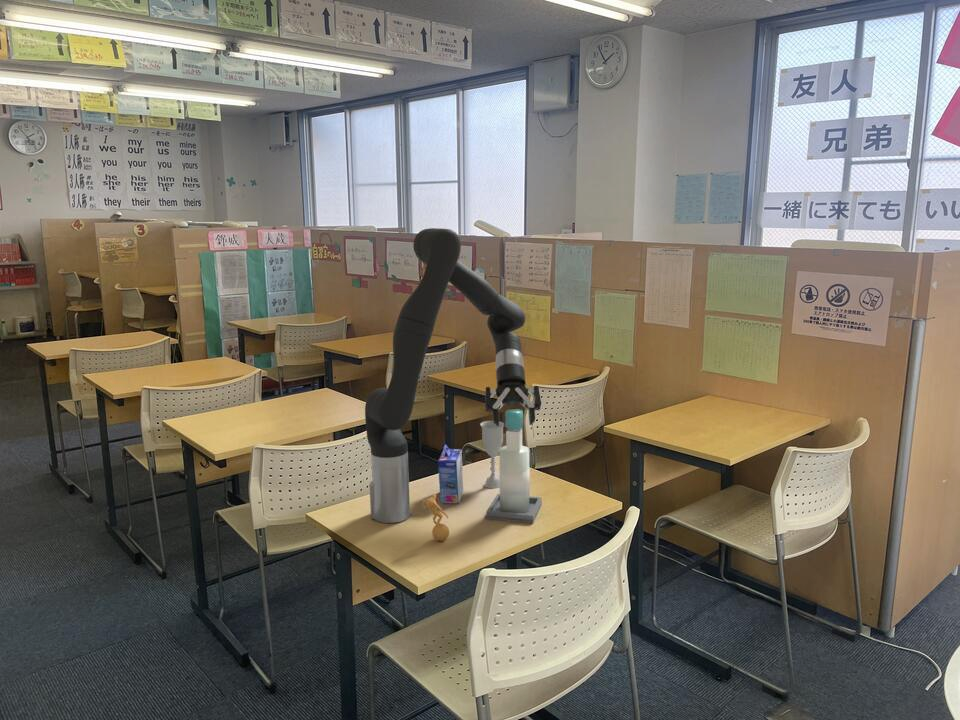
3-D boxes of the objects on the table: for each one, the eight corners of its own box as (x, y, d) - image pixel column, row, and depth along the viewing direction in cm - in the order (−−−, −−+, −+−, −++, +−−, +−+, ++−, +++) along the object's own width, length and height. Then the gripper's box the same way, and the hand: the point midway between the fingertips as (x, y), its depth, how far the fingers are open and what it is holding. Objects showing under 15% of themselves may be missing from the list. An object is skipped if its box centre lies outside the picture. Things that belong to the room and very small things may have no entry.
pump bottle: (486, 518, 177) (485, 435, 172) (497, 500, 188) (496, 422, 184) (533, 523, 174) (533, 438, 169) (541, 504, 185) (541, 424, 181)
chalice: (478, 481, 202) (477, 421, 199) (501, 479, 204) (500, 419, 200) (484, 490, 195) (483, 428, 192) (508, 488, 197) (507, 426, 193)
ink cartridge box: (444, 489, 196) (443, 440, 194) (463, 490, 196) (462, 440, 193) (438, 503, 187) (437, 451, 184) (459, 504, 186) (458, 452, 183)
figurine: (459, 542, 164) (458, 494, 161) (440, 551, 160) (438, 501, 157) (435, 532, 169) (434, 485, 167) (416, 540, 165) (414, 492, 163)
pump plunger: (503, 450, 176) (503, 413, 174) (507, 445, 180) (507, 408, 178) (521, 451, 175) (520, 414, 173) (524, 446, 179) (524, 409, 177)
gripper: (483, 362, 181) (486, 417, 172) (538, 361, 182) (544, 415, 173) (482, 378, 187) (485, 431, 178) (535, 376, 188) (541, 430, 179)
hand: (514, 423), depth 176 cm, fingers open, 8 cm apart
